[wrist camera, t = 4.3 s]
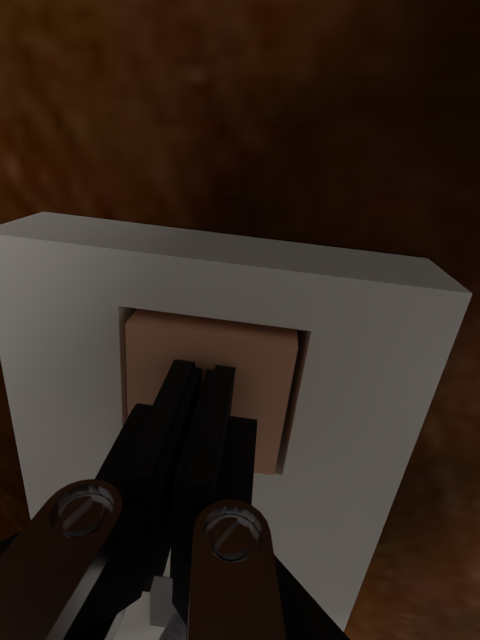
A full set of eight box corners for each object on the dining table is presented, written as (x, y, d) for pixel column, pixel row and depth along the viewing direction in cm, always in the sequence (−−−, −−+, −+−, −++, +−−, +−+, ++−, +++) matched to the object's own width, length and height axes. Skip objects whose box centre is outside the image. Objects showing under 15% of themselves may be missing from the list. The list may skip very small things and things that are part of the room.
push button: (156, 286, 12) (125, 323, 10) (294, 303, 12) (298, 346, 10) (155, 398, 14) (128, 454, 12) (274, 415, 14) (274, 475, 12)
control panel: (43, 211, 12) (-48, 239, 9) (428, 258, 12) (489, 306, 8) (94, 671, 24) (64, 759, 21) (287, 703, 24) (288, 798, 20)
